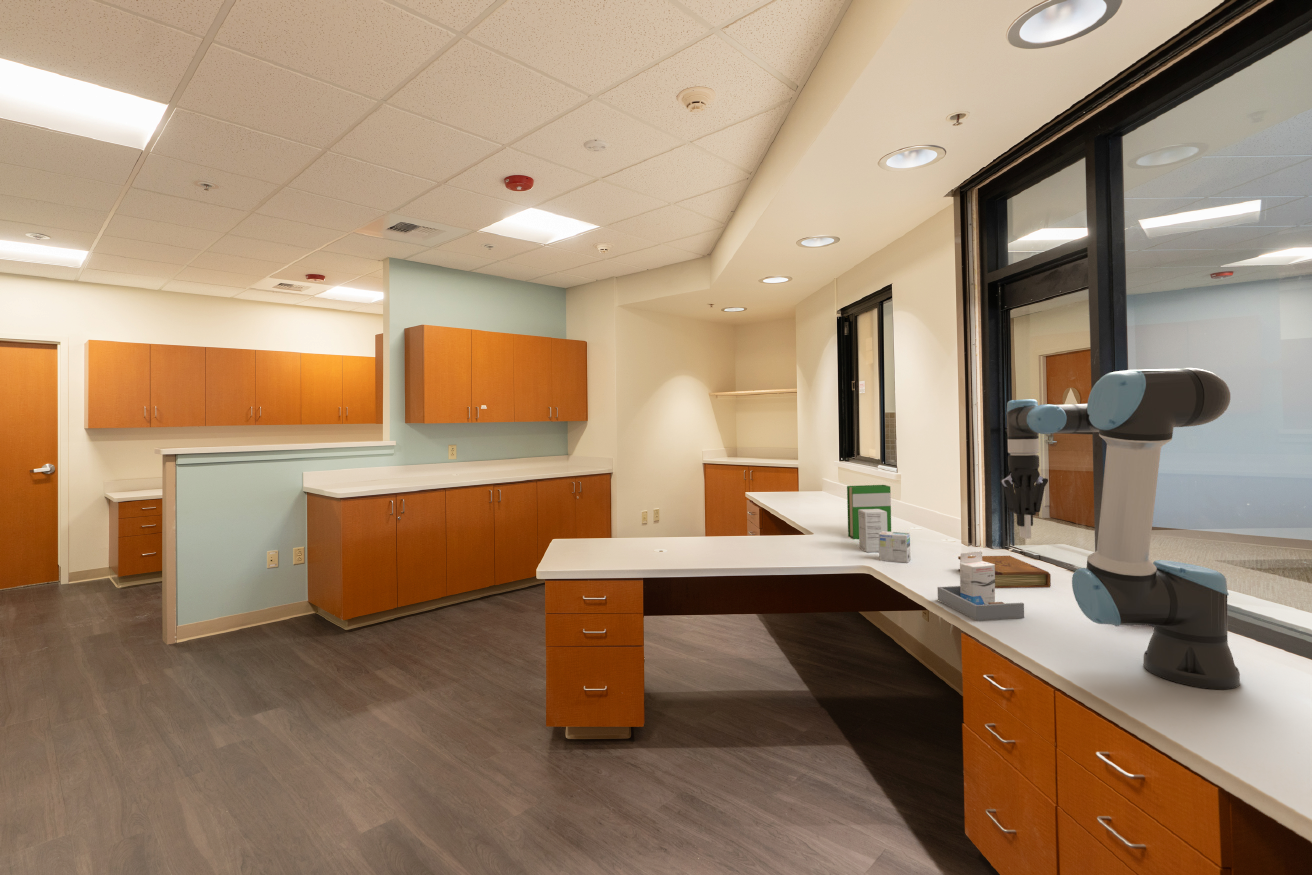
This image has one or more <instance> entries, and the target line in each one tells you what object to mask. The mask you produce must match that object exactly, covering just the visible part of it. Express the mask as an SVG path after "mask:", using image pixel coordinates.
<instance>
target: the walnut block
mask: <svg viewBox="0 0 1312 875" xmlns="http://www.w3.org/2000/svg"><path fill="white" fill-rule="evenodd" d="M988 604H1005V602H1003V601H995V602H988Z"/></svg>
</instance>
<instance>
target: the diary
mask: <svg viewBox="0 0 1312 875" xmlns="http://www.w3.org/2000/svg"><path fill="white" fill-rule="evenodd" d="M960 556H961V555H960ZM960 556H959V555H958V557H957V558H958V560H960ZM968 558H975V556H972V555H971V556H968ZM982 561H984V562H988V563H991V564H995V589H1016V588H1017V589H1027V588H1028V589H1031V588H1033V589H1038V588H1042V589H1043V588H1050V587H1051V586H1052V585H1051V579H1052V578H1051V576H1052V575H1051V573H1050V572H1049V571H1048V570H1045V569H1042V568H1040V567H1038V566H1035V565H1033V564H1031V563H1029V562H1026V561H1024V560H1021V559H1018V558H1016V557H1013V556H1011V555H982ZM958 571H959V572H960V568H958Z"/></svg>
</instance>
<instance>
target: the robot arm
mask: <svg viewBox="0 0 1312 875" xmlns="http://www.w3.org/2000/svg"><path fill="white" fill-rule="evenodd" d="M1230 402H1231V392H1230V388H1229V386H1228V384H1227V383H1226V382H1225V381H1224V380H1223V379H1222V378H1221V377H1220V376H1219V375H1217V374H1215V373H1213V372H1212V371H1208V370H1205V369H1201V368H1195V367H1194V368H1193V367H1181V368H1158V369H1127V370H1119V371H1113V372H1108V373H1106V374H1105V375H1103V376H1101V377H1100V378H1099V380H1097V381H1096V382H1095V384H1093V386H1092V388H1091V391H1090V392H1089V396H1088V399H1087V403H1078V404H1075V403H1068V404H1051V403H1049V404H1044V403H1043V404H1038V401H1037V399H1033V398H1030V399H1029V398H1027V399H1026V398H1025V399H1011V400H1009V401H1007V403H1006V405H1007V406H1006V426H1007V453H1008V454H1009V455H1007V465H1008V466H1007V467H1008V469H1009V470H1008V473H1007V476H1006V477H1005V478H1001V479H1000V480H999V482H1000V484H1001V485H1002V487H1003V490H1004V495H1005V499H1006V503H1007V507H1008V510H1009V512H1010V513H1013V514H1015V515H1016V524H1017V526H1018V527H1019V531H1018V533H1019V538H1022V539H1025V540H1027V539H1032V526H1034V516H1035V515H1036V514H1037V513H1040V511H1041V509H1042V502H1043V497H1044V492H1045V488H1046V486H1047V484H1048V483H1049V479H1048V478H1046V477H1043V476H1041V474H1040V472H1039V468H1040V456H1039V455H1038V453H1040V441H1039V440H1040V439H1039V436H1040V435H1039V434H1042V435H1045V434H1046V435H1049V434H1069V433H1071V434H1072V433H1098V436H1099V437H1100V438H1102V440H1104V441H1105V443H1106V452H1105V460H1104V461H1105V464H1104V474H1103V483H1102V493H1101V504H1100V514H1099V524H1098V534H1097V535H1098V537H1097V546H1096V551H1093V552H1092V553H1091V554H1089V555H1087V561H1086V567H1079V568H1077V569H1076V570H1075V571H1073V573H1072V577H1071V588H1072V592H1073V596H1074V598H1075V601H1076V603H1077V605H1078V607H1079V609H1080V611H1081V612H1082V613H1083V615H1085V617H1086V618H1087V619H1088V620H1090V621H1091V622H1093V623H1095V624H1099V625H1110V626H1115V627H1119V626H1149V625H1154V626H1153V632H1152V635H1151V638H1150V639H1149V642H1148V645H1147V648H1146V651H1144V653H1143V667H1144V669H1146V670H1147V671H1148V672H1149V673H1151V674H1154V675H1155V676H1157V677H1159V678H1162V679H1165V680H1166V681H1167V680H1168V681H1170V682H1174V683H1178V684H1182V685H1185V686H1190V687H1194V688H1195V687H1196V688H1200V689H1201V688H1202V689H1203V688H1204V689H1211V690H1212V689H1213V690H1227V689H1228V690H1230V689H1235V688H1238V687H1239V686H1240V685H1241V681H1240V680H1241V674H1240V670H1239V668H1238V666H1236V665H1235V662H1234V661H1235V660H1234V657H1233V654H1232V652H1231V650H1230V647H1229V644H1228V632H1229V631H1228V596H1229V592H1228V585H1227V579H1226V577H1225V575H1224V574H1222V572H1219V571H1218V570H1216V569H1212V568H1209V567H1204V566H1201V565H1197V564H1192V563H1186V562H1181V561H1175V560H1166V559H1157V560H1153V561H1151V560H1150V558H1149V556H1150V549H1151V548H1150V547H1151V538H1152V530H1153V529H1152V528H1153V523H1154V522H1153V521H1154V513H1155V512H1154V511H1155V502H1156V494H1157V488H1158V487H1157V486H1158V477H1159V468H1160V460H1161V452H1162V451H1161V450H1162V447H1163V446H1165V445H1166V444H1167V443H1168V444H1169V442H1171V441H1172V439H1173V435H1174V434H1173V433H1174V428H1184V427H1185V428H1186V427H1196V426H1197V427H1198V426H1201V425H1206V424H1209V423H1211V422H1214V421H1216V420H1217V419H1219V417H1221V416H1222V415H1223V414H1224V413H1225V412H1226V411H1227V410H1228V407H1229V406H1230Z"/></svg>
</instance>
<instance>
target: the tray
mask: <svg viewBox="0 0 1312 875" xmlns="http://www.w3.org/2000/svg"><path fill="white" fill-rule="evenodd" d="M938 600H939V602H940V601H941V602H940V603H942V602H943V604H944V603H945V605H946V606H947V607H949V608H952V609H953V608H954V610H955V609H956V610H955V611H957V610H958V612H959V613H961V614H963V615H965V616H967V617H969V618H970V619H972V620H974V621H980V622H981V621H991V620H992V621H993V620H994V621H995V620H1008V619H1010V620H1012V619H1024V618H1025V603H1024V602H1009V603H1008V602H1007V603H1005V602H1004V603H1005V604H984V605H976V604H974V603H972V602H970V601H968V600H966V599H964V598H962V597H960V585H949V586H937V601H938Z"/></svg>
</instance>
